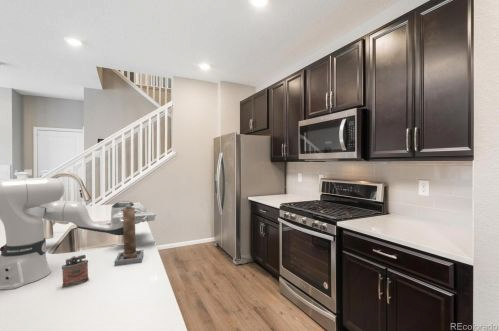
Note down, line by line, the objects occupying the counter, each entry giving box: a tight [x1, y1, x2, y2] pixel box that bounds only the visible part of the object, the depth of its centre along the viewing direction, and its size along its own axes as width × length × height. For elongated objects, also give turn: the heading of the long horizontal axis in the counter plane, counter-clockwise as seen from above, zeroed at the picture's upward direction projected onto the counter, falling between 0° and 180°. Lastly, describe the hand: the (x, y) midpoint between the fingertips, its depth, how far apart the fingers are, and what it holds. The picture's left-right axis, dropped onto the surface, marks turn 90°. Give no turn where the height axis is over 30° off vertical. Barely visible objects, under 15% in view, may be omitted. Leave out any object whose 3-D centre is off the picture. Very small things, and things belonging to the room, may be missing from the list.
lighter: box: [61, 254, 90, 289], centre depth 93 cm, size 8×3×10 cm, turn 131°
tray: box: [113, 249, 144, 267], centre depth 114 cm, size 11×11×2 cm
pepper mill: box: [122, 204, 138, 260], centre depth 114 cm, size 6×6×25 cm
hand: (132, 221), depth 123 cm, fingers open, 8 cm apart
